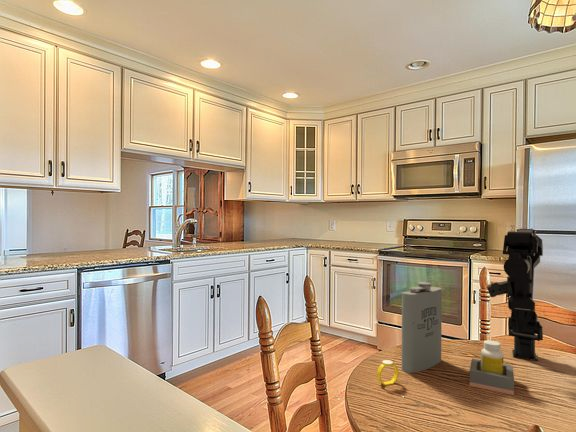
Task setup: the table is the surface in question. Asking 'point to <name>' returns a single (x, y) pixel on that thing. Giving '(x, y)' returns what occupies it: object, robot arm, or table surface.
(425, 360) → the flask
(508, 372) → the socket block
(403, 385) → the table surface
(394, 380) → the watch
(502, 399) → the table surface
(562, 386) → the table surface
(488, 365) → the supplement bottle
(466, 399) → the table surface
